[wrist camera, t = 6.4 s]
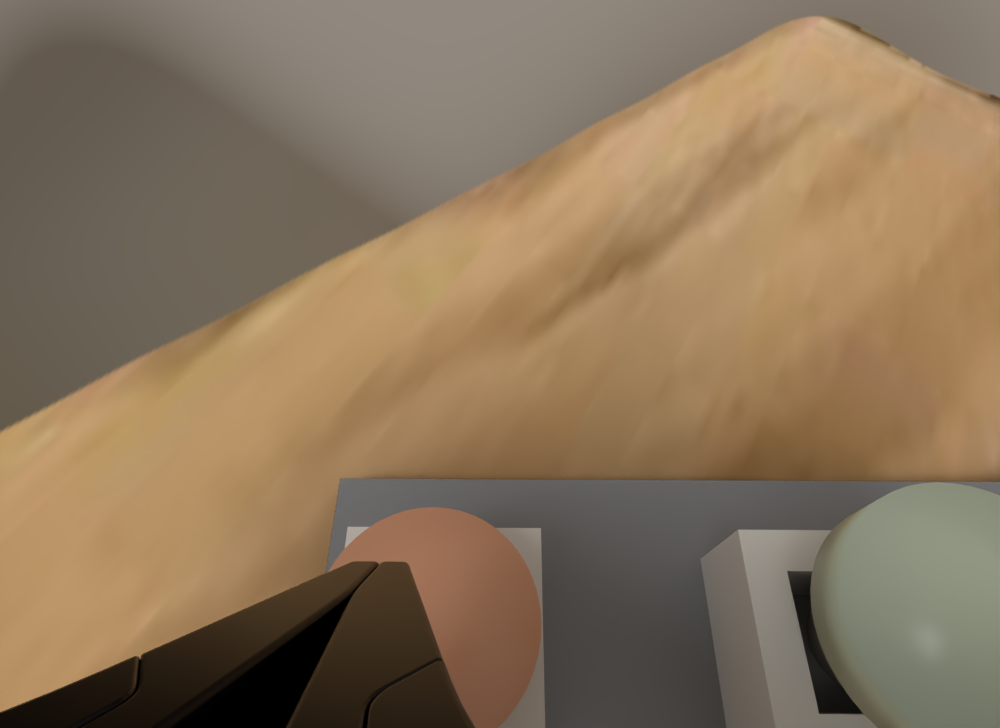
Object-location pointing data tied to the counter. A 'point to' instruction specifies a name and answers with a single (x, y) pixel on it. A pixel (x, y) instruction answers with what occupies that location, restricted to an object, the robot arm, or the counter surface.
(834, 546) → the sage button
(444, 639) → the terracotta button
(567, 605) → the console
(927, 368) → the counter surface
